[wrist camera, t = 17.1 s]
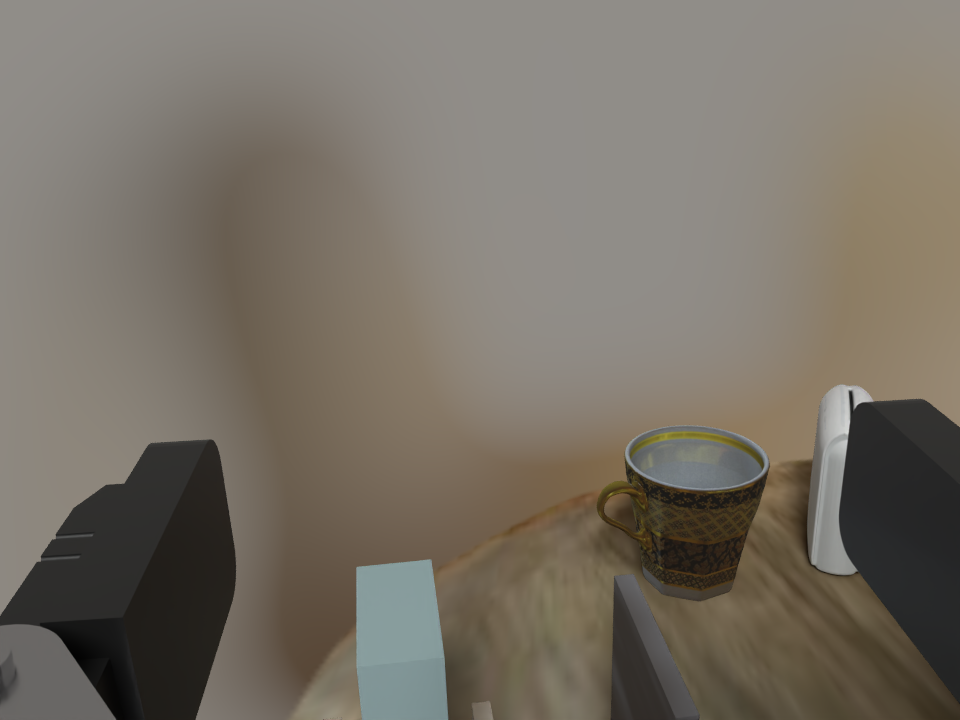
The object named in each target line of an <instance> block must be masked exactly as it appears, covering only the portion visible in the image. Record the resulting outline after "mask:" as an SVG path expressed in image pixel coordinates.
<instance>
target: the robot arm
mask: <svg viewBox="0 0 960 720" xmlns="http://www.w3.org/2000/svg"><path fill="white" fill-rule="evenodd" d="M839 529H840V535H841V539H842V543H843V546H844V549H845V552H846V554H847V556H848V558H849V559H850V561H851V562H852V564H853V565H854V566H855V568H856V569H857V570H858V572H859V573H860V574H861V576H862V577H863V578H864V579H865V581H866V582H867V583H868V585H869V586H870V587H871V589H872V590H873V591H874V593H875V594H876V595H877V596H878V598H879V599H880V600H881V602H882V603H883V604H884V606H885V607H886V608H887V610H888V611H889V612H890V613H891V615H892V616H893V617H894V619H895V620H896V621H897V623H898V624H899V625H900V627H901V628H902V629H903V630H904V632H905V633H906V634H907V636H908V637H909V638H910V640H911V641H912V642H913V644H914V645H915V646H916V647H917V649H918V650H919V651H920V653H921V654H922V655H923V657H924V658H925V659H926V661H927V662H928V663H929V664H930V666H931V667H932V668H933V670H934V671H935V672H936V674H937V675H938V676H939V678H940V679H941V680H942V681H943V683H944V684H945V685H946V687H947V688H948V689H949V691H950V692H951V693H952V695H953V696H954V697H955V698H956V700H957V701H958V702H959V704H960V427H959V426H957V425H956V424H954V422H952V421H951V420H950V419H949V418H947V417H946V416H945V415H944V414H942V413H941V412H940V411H938V410H937V409H936V408H935V407H933V406H932V405H931V404H930V403H928V402H927V401H925V400H923V399H909V400H893V401H876V402H862V403H860V404H858V405H857V406H856V408H855V409H854V411H853V413H852V416H851V420H850V425H849V434H848V442H847V450H846V458H845V466H844V474H843V482H842V490H841V498H840V506H839ZM235 581H236V558H235V548H234V541H233V535H232V529H231V522H230V516H229V510H228V504H227V497H226V491H225V485H224V478H223V472H222V466H221V460H220V455H219V451H218V448H217V446H216V444H215V442H214V441H213V440H195V441H178V442H164V443H163V442H161V443H151V444H149V445H148V446H147V448H146V449H145V451H144V453H143V454H142V456H141V457H140V459H139V461H138V462H137V464H136V466H135V467H134V469H133V471H132V472H131V474H130V476H129V477H128V479H127V480H126V482H125V484H114V485H105V486H104V487H103V488H101V489H100V490H98V491H97V492H96V493H95V494H93V495H92V496H90V497H89V498H87V499H86V500H84V501H83V502H82V503H80V504H79V505H77V506H76V507H75V508H73V510H72V511H71V513H70V514H69V516H68V517H67V519H66V520H65V522H64V523H63V525H62V526H61V527H60V529H59V530H58V532H57V533H56V539H54V540H52V541H51V542H50V544H49V545H48V547H47V548H46V549H45V551H44V552H43V554H42V555H41V562H37V563H36V564H35V566H34V567H33V569H32V570H31V571H30V573H29V574H28V576H27V577H26V579H25V581H24V582H23V583H22V585H21V586H20V588H19V589H18V591H17V592H16V593H15V595H14V596H13V598H12V599H11V601H10V602H9V604H8V605H7V607H6V608H5V610H4V611H3V613H2V614H1V616H0V720H195V719H196V716H197V713H198V710H199V706H200V703H201V700H202V697H203V693H204V690H205V687H206V684H207V681H208V678H209V674H210V671H211V668H212V665H213V662H214V658H215V655H216V652H217V649H218V646H219V642H220V639H221V636H222V633H223V630H224V626H225V623H226V620H227V617H228V613H229V610H230V607H231V604H232V601H233V596H234V591H235Z"/></svg>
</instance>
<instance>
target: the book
mask: <svg viewBox="0 0 960 720" xmlns="http://www.w3.org/2000/svg"><path fill="white" fill-rule="evenodd" d="M357 675H358V684H359V694H360V703H361V713H362V720H448V709H447V692H446V675H445V659H444V651H443V643H442V636H441V629H440V621H439V614H438V606H437V599H436V592H435V584H434V577H433V570H432V562H431V560H422V561H412V562H402V563H392V564H383V565H373V566H363V567H357Z"/></svg>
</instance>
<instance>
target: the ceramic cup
mask: <svg viewBox="0 0 960 720" xmlns="http://www.w3.org/2000/svg"><path fill="white" fill-rule="evenodd" d="M624 455H625V464H626V475H627V480H628V483H627V482H624V481H616V482H613V483H611V484H609V485H608V486H606V487H605V488H604V489H603V490H602V492H601V494H600V496H599V498H598V502H597V511H598V514H599V516H600V517H601V518H602V519H603V520H604V521H605V522H606V523H608V524H610V525H612V526H614V527H617V528H619V529H621V530H622V531H624V532H625V533H626V534H627V535H628V536H630V537H631V538H633V539H635V540H637V541H638V542H639V546H640V552H641V560H642V567H643V574H644V576H645V578H646V579H647V580H648V581H649V582H650V583H651V584H652V585H653V586H654V587H655V588H656V589H657V590H659V591H660V592H661V593H662V594H663V595H668V596H673V597H679V598H684V599H689V600H695V601H702V600H706V599H709V598H712V597H715V596H717V595H720V594H723V593H726V592H729V591H730V589H731V588H732V585H733V582H734V579H735V575H736V571H737V567H738V564H739V560H740V557H741V553H742V550H743V547H744V543H745V540H746V536H747V533H748V530H749V527H750V525H751V523H752V520H753V518H754V516H755V514H756V511H757V509H758V506H759V503H760V500H761V496H762V493H763V490H764V487H765V483H766V479H767V475H768V471H769V467H770V463H769V458H768V456H767V455H766V453H765V452H764V450H763V449H762V448H761V447H759V446H758V445H757V444H756V443H754V442H752V441H751V440H749V439H747V438H745V437H743V436H741V435H738V434H735V433H733V432H729V431H726V430H722V429H716V428H711V427H704V426H669V427H663V428H658V429H654V430H651V431H648V432H645V433H643V434H641V435H639V436H637V437H635V438H634V439H633V440H631V442H630V443H629V444H628V445H627V447H626V449H625V454H624ZM620 493H626V494H629V495H630V496H631V502H632V508H633V512H634V516H635V523H636V529H637V533H634V532H632V531H631V530H630V529H629V528H628V527H627V526H625V525H624V524H622V523H620V522H618V521H616V520H613V519H611V518H609V517H607V516H606V515H605V513H604V505H605V503H606V501H607V500H608V499H609V498H610V497H611V496H613V495H616V494H620Z"/></svg>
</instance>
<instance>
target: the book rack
mask: <svg viewBox="0 0 960 720" xmlns="http://www.w3.org/2000/svg"><path fill="white" fill-rule="evenodd" d="M323 720H342V717H341V718H332V719H323ZM472 720H493V716H492V710H491V705H490V701H486V702H477V703H472ZM611 720H699V713H698V711H697V709H696V707H695V705H694V702H693V700H692V698H691V696H690V694H689V692H688V690H687V687H686V685H685V683H684V681H683V679H682V677H681V675H680V672H679V670H678V668H677V666H676V664H675V662H674V660H673V658H672V655H671V653H670V651H669V649H668V647H667V645H666V643H665V640H664V638H663V636H662V634H661V632H660V630H659V628H658V625H657V623H656V621H655V619H654V617H653V615H652V613H651V611H650V608H649V606H648V604H647V602H646V600H645V598H644V596H643V593H642V591H641V589H640V587H639V585H638V583H637V581H636V578H635V576H634V574H630V575H620V576H614V610H613V655H612V700H611Z"/></svg>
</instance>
